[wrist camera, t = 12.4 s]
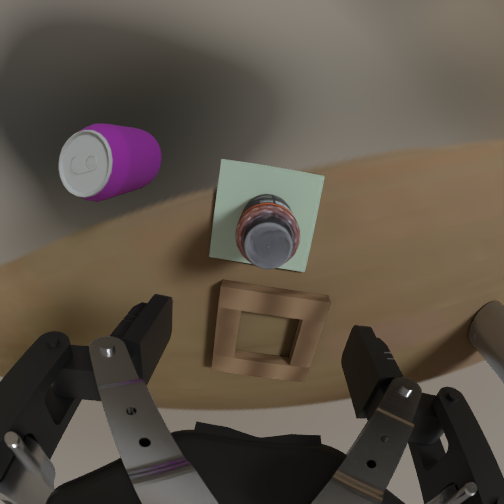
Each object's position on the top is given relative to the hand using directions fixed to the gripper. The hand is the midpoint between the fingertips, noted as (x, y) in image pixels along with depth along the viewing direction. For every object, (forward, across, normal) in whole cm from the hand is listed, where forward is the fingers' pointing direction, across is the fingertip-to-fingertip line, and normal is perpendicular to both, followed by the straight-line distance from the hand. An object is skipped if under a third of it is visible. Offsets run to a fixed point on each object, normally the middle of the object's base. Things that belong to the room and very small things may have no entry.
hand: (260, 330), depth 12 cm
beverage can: (+24, +17, -5) cm, 30 cm away
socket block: (+24, -3, +16) cm, 29 cm away
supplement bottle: (+23, 0, 0) cm, 23 cm away
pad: (+24, 0, 0) cm, 24 cm away
